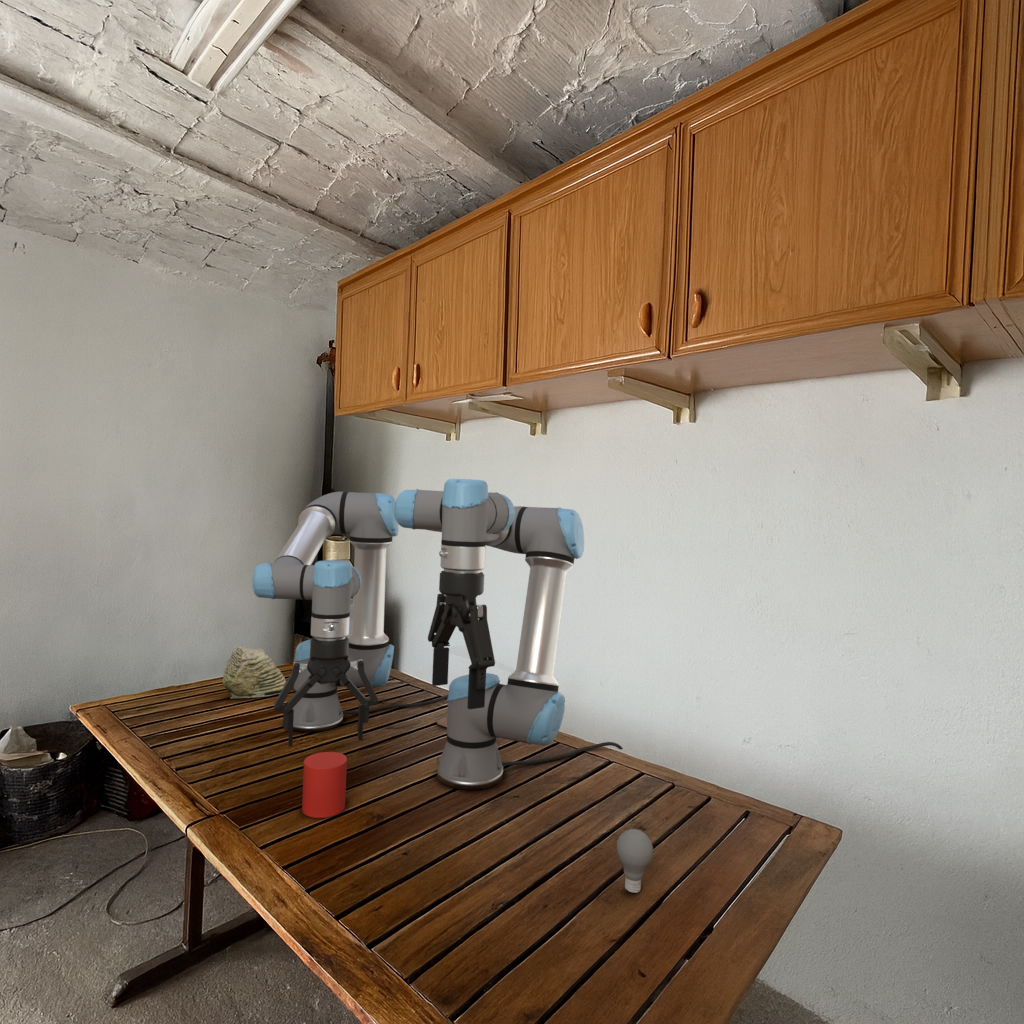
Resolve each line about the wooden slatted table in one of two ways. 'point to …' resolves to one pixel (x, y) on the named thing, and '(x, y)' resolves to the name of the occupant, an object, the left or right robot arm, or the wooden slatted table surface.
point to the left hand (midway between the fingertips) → (325, 741)
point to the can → (324, 784)
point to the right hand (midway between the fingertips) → (456, 695)
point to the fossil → (252, 674)
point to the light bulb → (634, 857)
